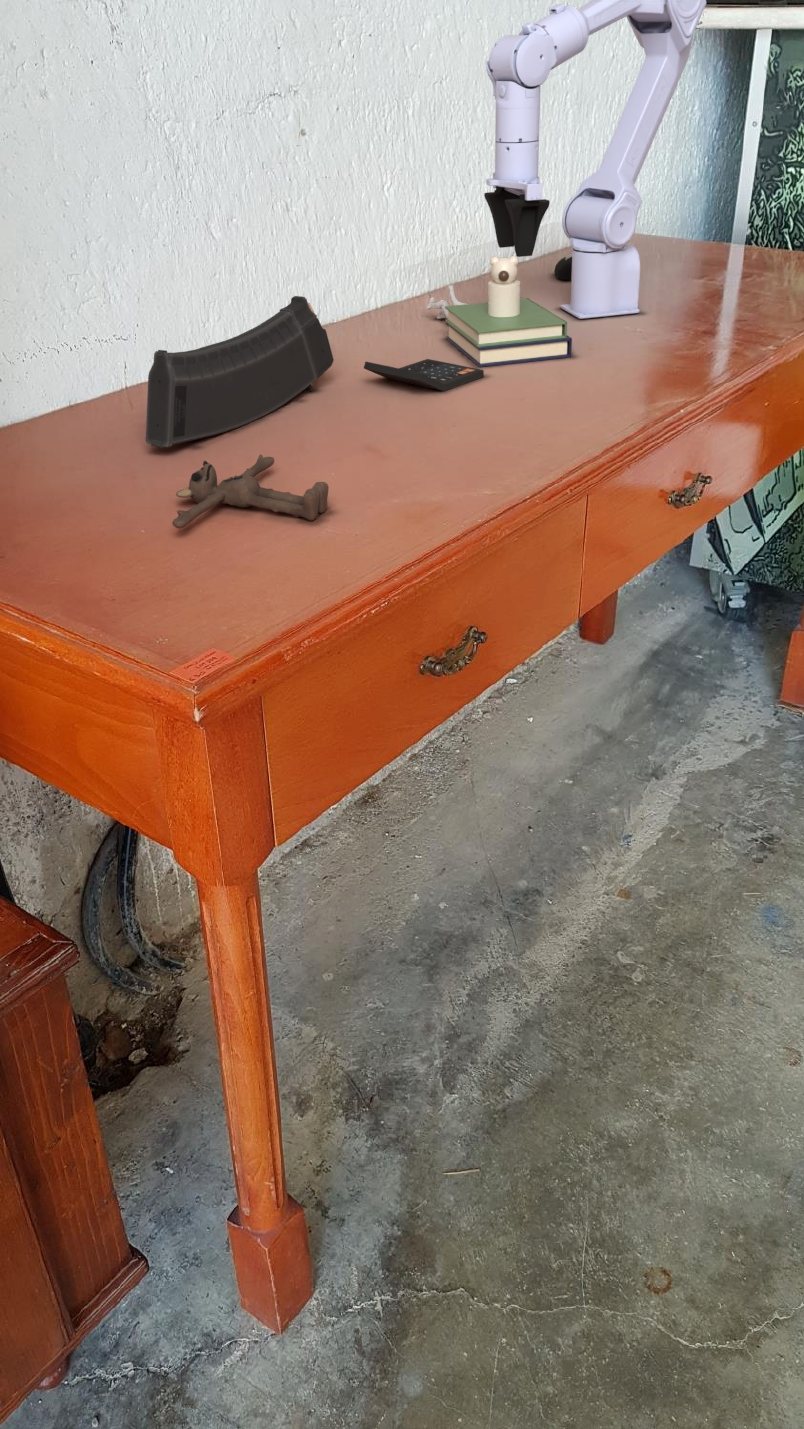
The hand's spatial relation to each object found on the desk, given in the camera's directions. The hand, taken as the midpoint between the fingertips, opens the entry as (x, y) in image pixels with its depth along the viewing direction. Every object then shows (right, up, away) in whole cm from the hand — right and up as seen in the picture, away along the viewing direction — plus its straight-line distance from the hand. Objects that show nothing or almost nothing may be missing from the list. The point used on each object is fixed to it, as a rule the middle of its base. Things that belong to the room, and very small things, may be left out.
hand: (515, 251), depth 157 cm
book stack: (-1, -14, -3) cm, 15 cm away
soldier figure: (-7, -8, +9) cm, 14 cm away
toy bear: (-2, -10, -5) cm, 12 cm away
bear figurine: (-30, -44, -49) cm, 72 cm away
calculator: (-13, -23, -15) cm, 30 cm away
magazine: (-33, -29, -25) cm, 51 cm away
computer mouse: (+16, +9, +34) cm, 39 cm away
